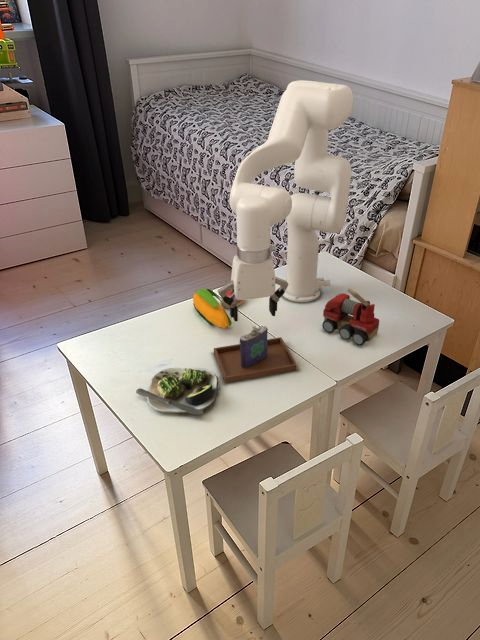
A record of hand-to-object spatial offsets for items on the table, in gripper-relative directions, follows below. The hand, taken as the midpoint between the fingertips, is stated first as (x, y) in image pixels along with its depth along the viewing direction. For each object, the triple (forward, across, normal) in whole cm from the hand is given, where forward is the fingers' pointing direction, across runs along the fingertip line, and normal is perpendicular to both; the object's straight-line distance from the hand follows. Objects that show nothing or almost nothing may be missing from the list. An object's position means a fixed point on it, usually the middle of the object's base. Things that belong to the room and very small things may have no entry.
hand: (253, 316), depth 134 cm
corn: (+15, +6, -23) cm, 28 cm away
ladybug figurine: (+14, -2, -31) cm, 35 cm away
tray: (+15, 0, 0) cm, 15 cm away
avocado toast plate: (+15, +20, +8) cm, 26 cm away
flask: (+14, 0, 0) cm, 15 cm away
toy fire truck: (+14, -29, -5) cm, 33 cm away
